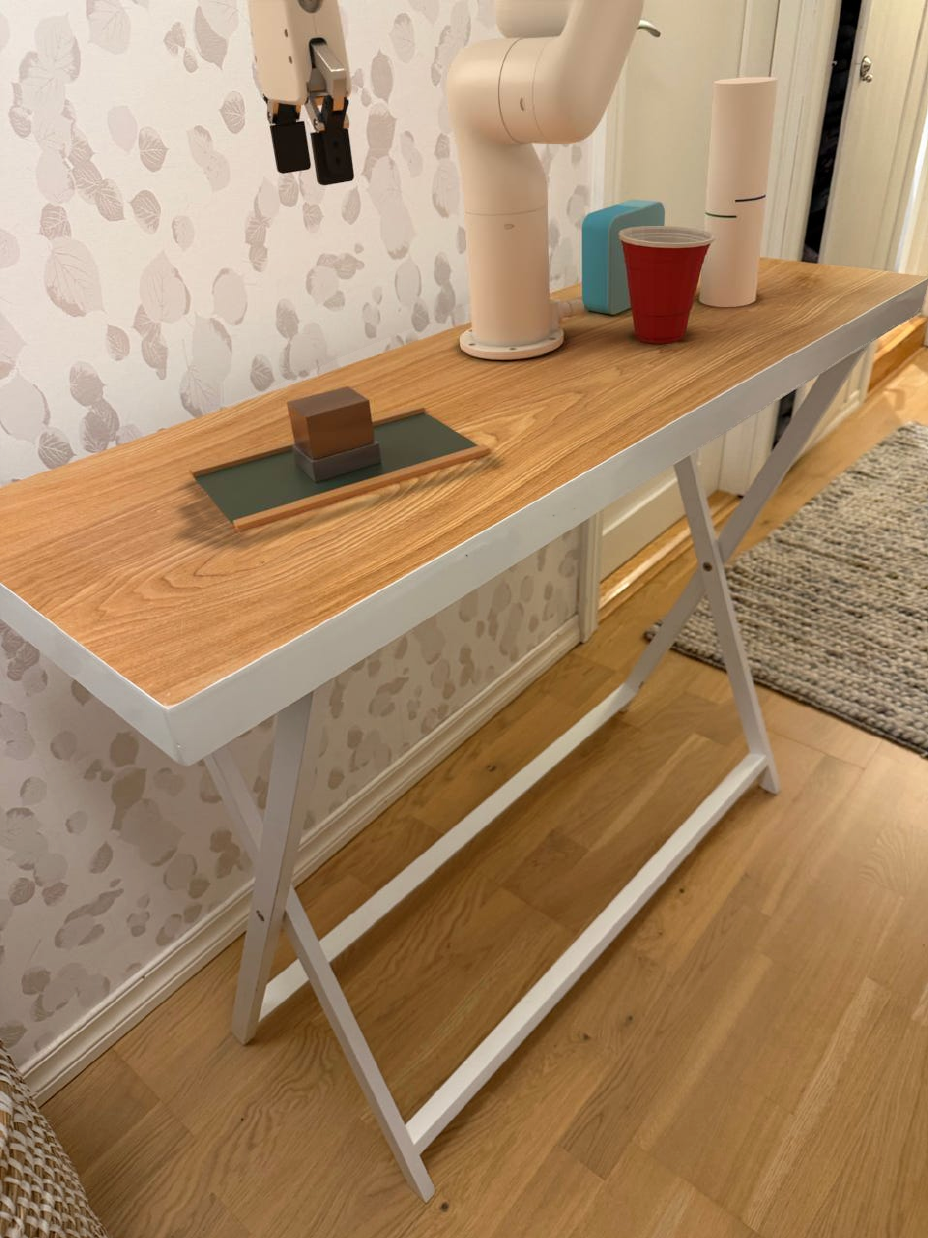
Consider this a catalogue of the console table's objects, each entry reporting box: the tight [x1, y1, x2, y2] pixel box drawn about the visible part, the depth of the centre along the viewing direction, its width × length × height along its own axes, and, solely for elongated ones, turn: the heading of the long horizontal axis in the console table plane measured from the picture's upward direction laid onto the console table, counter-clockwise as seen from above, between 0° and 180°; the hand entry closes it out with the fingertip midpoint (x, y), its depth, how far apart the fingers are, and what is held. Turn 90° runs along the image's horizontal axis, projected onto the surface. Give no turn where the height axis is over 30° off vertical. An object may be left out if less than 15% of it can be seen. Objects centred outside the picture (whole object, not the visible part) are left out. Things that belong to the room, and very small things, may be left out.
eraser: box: [286, 385, 381, 482], centre depth 83 cm, size 5×6×6 cm
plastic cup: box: [619, 225, 715, 345], centre depth 108 cm, size 11×11×12 cm
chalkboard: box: [188, 403, 491, 533], centre depth 85 cm, size 24×14×2 cm, turn 120°
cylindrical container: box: [698, 76, 779, 308], centre depth 115 cm, size 7×7×25 cm
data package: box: [581, 198, 666, 316], centre depth 120 cm, size 12×4×12 cm, turn 136°
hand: (314, 176), depth 83 cm, fingers open, 9 cm apart
